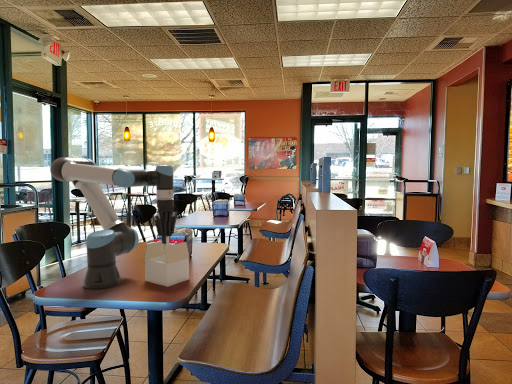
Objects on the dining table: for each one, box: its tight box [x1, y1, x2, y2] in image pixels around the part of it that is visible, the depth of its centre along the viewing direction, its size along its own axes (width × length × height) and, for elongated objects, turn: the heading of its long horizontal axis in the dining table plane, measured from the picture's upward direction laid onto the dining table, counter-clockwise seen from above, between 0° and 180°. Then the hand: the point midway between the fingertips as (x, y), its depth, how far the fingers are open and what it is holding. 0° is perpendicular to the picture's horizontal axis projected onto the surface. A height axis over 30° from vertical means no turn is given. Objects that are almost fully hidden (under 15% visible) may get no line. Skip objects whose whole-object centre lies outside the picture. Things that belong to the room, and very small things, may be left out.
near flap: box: [164, 241, 191, 264], centre depth 159 cm, size 13×8×1 cm
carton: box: [144, 254, 190, 288], centre depth 163 cm, size 13×15×10 cm
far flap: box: [143, 241, 165, 260], centre depth 167 cm, size 13×8×1 cm
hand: (166, 250), depth 163 cm, fingers closed
